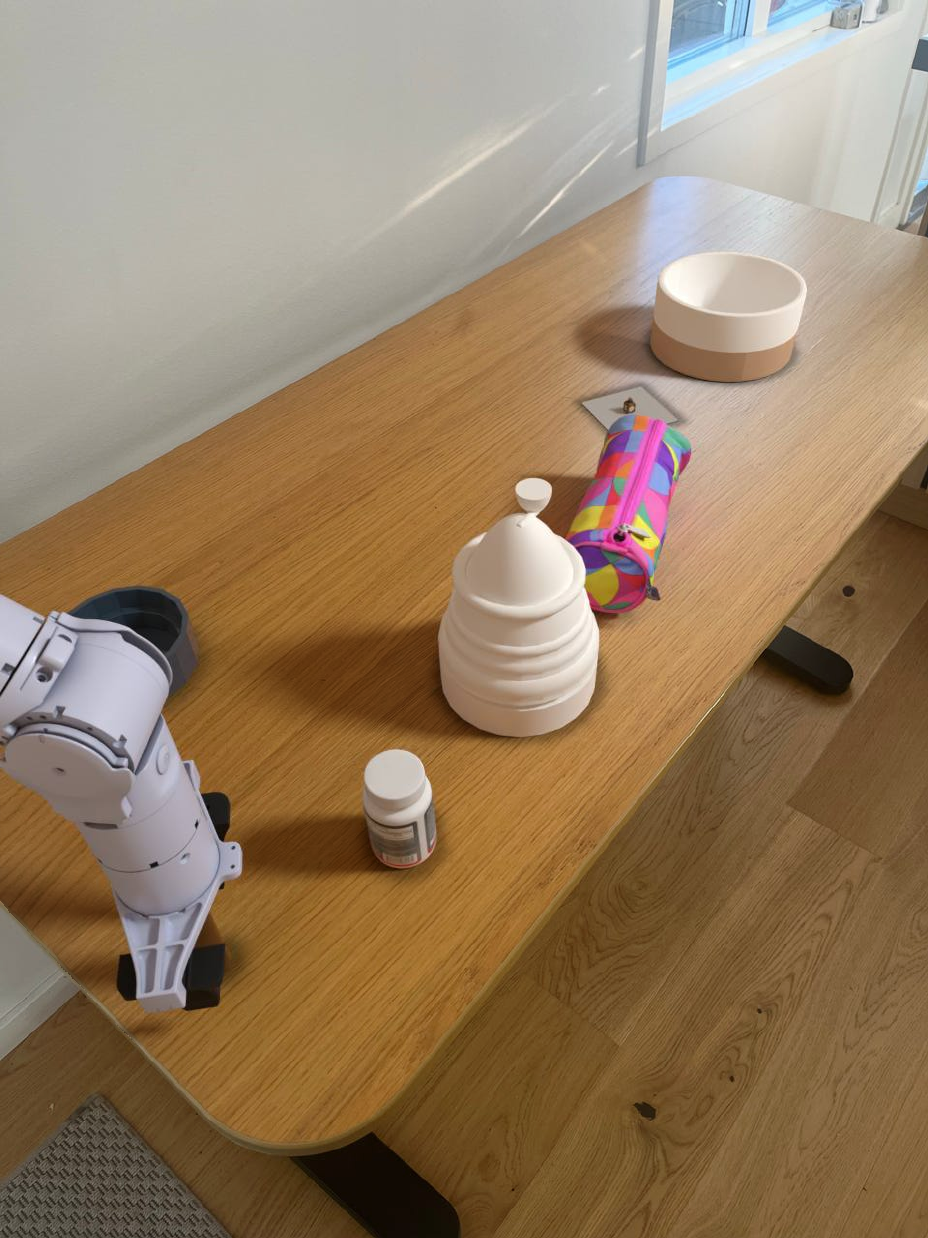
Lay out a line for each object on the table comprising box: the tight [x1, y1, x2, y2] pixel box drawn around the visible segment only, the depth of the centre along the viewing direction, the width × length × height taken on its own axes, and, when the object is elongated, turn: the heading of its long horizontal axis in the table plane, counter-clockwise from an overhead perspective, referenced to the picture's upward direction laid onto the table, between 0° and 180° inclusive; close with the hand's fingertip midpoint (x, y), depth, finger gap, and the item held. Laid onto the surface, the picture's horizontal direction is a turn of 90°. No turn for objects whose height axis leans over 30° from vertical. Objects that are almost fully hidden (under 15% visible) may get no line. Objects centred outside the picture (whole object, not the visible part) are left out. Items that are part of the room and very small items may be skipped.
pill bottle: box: [361, 748, 438, 869], centre depth 62 cm, size 5×5×8 cm
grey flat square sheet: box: [581, 386, 679, 431], centre depth 103 cm, size 8×8×2 cm
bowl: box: [649, 251, 808, 383], centre depth 110 cm, size 17×17×8 cm
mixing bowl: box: [66, 584, 200, 700], centre depth 76 cm, size 11×11×4 cm
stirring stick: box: [194, 910, 232, 974], centre depth 56 cm, size 2×2×10 cm
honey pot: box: [437, 477, 600, 738], centre depth 70 cm, size 13×13×18 cm
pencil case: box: [564, 415, 692, 614], centre depth 84 cm, size 22×9×9 cm, turn 163°
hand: (205, 942), depth 57 cm, fingers open, 7 cm apart
